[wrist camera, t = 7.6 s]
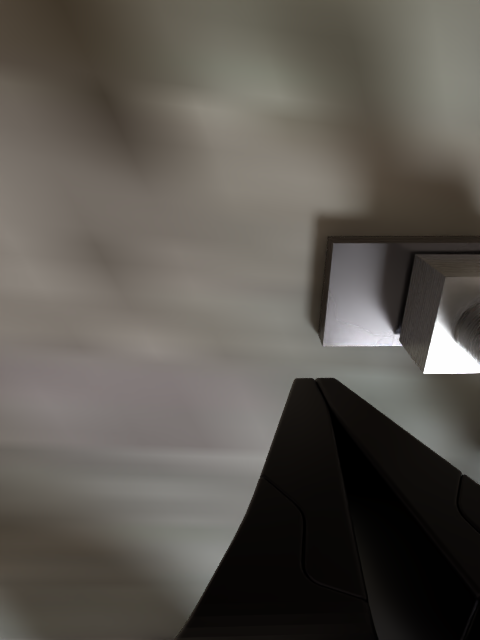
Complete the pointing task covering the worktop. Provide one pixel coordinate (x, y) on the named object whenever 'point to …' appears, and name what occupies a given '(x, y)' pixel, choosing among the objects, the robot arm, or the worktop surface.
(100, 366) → the worktop surface
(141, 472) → the worktop surface
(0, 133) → the worktop surface
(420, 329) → the handle
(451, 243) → the ram track
